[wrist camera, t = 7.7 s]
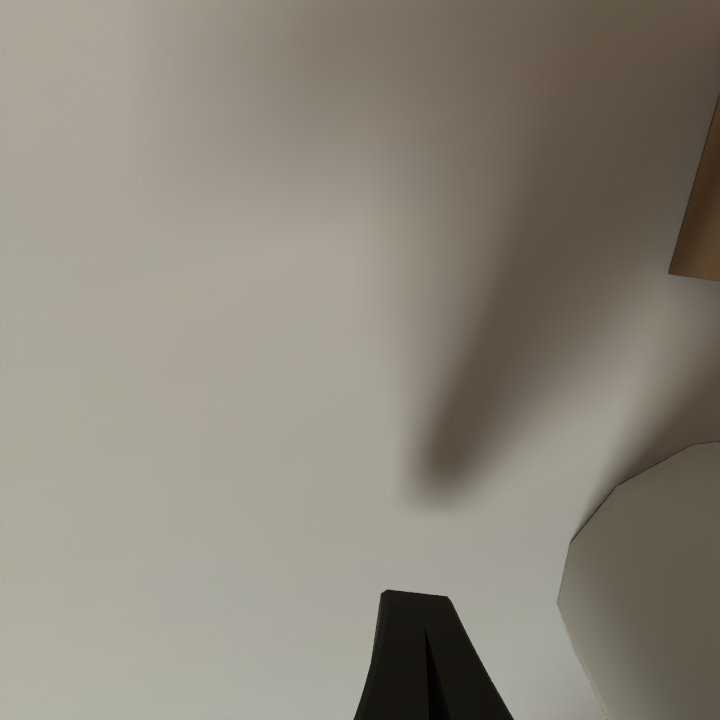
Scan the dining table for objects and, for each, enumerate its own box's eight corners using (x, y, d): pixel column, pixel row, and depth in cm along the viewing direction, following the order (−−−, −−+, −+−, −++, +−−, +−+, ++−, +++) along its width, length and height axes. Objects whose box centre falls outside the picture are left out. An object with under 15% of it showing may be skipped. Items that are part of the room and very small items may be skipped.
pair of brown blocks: (557, 876, 15) (576, 945, 13) (496, 868, 15) (510, 938, 13) (853, 31, 8) (959, -14, 6) (741, 21, 8) (822, -27, 6)
